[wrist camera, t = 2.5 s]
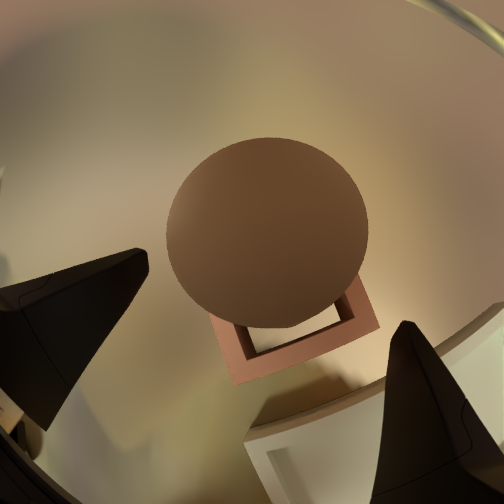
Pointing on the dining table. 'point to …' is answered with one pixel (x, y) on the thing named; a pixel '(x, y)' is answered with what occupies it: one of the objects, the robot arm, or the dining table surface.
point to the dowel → (267, 233)
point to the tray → (371, 425)
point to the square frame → (301, 349)
